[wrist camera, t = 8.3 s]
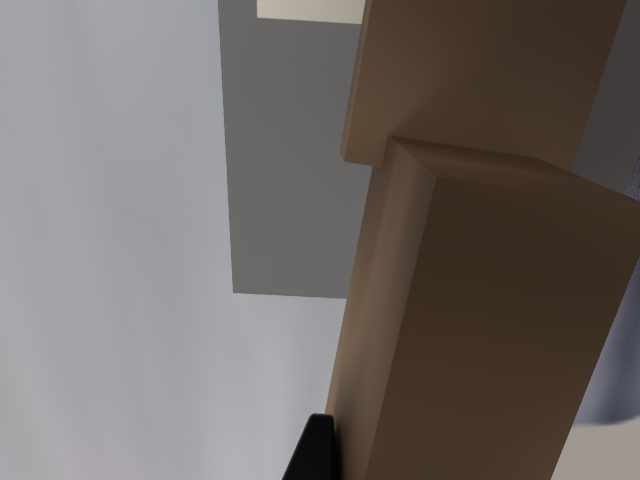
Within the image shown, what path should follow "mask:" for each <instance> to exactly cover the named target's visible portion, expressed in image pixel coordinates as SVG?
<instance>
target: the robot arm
mask: <svg viewBox="0 0 640 480" xmlns="http://www.w3.org/2000/svg"><path fill="white" fill-rule="evenodd" d="M282 480H336V463H335V433H334V417H333V416H332V415H331V414H316V413H314V414H312V415H311V416H310V417H309V419H308V421H307V424H306V426H305V428H304V430H303V433H302V435H301V437H300V440H299V442H298V444H297V446H296V449H295V451H294V453H293V456H292V458H291V460H290V462H289V465H288V467H287V469H286V471H285V474H284V476H283V478H282Z"/></svg>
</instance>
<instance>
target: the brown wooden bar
mask: <svg viewBox="0 0 640 480" xmlns="http://www.w3.org/2000/svg"><path fill="white" fill-rule="evenodd" d="M626 2H627V0H366V1H365V6H364V12H363V18H362V24H361V30H360V36H359V42H358V48H357V53H356V59H355V65H354V71H353V77H352V83H351V89H350V95H349V101H348V106H347V112H346V118H345V124H344V130H343V136H342V142H341V148H340V154H341V156H342V159H343V161H344V162H349V163H356V164H362V165H369V166H373V167H372V172H371V177H370V182H369V188H368V193H367V198H366V203H365V208H364V213H363V219H362V224H361V229H360V234H359V239H358V244H357V250H356V255H355V260H354V265H353V270H352V275H351V281H350V286H349V291H348V296H347V301H346V306H345V312H344V317H343V322H342V327H341V332H340V337H339V342H338V348H337V353H336V358H335V363H334V368H333V373H332V379H331V384H330V389H329V394H328V399H327V404H326V410H325V414H331V415H332V416H333V417H334V433H335V463H336V480H550V479H551V477H552V474H553V472H554V469H555V467H556V464H557V462H558V459H559V457H560V454H561V451H562V449H563V447H564V444H565V442H566V439H567V437H568V434H569V432H570V429H571V427H572V424H573V421H574V419H575V416H576V414H577V411H578V409H579V406H580V404H581V401H582V399H583V396H584V394H585V391H586V389H587V386H588V384H589V381H590V379H591V376H592V374H593V371H594V369H595V366H596V364H597V361H598V359H599V356H600V353H601V351H602V348H603V346H604V343H605V341H606V338H607V336H608V333H609V331H610V328H611V326H612V323H613V321H614V318H615V316H616V313H617V311H618V308H619V306H620V303H621V301H622V298H623V296H624V293H625V290H626V288H627V285H628V283H629V280H630V278H631V275H632V273H633V270H634V268H635V265H636V263H637V260H638V258H639V255H640V202H639V201H637V200H635V199H632V198H630V197H627V196H625V195H623V194H620V193H618V192H616V191H613V190H611V189H609V188H606V187H604V186H602V185H599V184H597V183H595V182H592V181H590V180H588V179H585V178H583V177H580V176H578V175H576V174H573V173H571V170H572V167H573V164H574V161H575V158H576V155H577V151H578V148H579V145H580V142H581V139H582V136H583V133H584V130H585V127H586V124H587V121H588V118H589V115H590V112H591V109H592V106H593V103H594V100H595V97H596V94H597V91H598V88H599V84H600V81H601V78H602V75H603V72H604V69H605V66H606V63H607V60H608V57H609V54H610V51H611V48H612V45H613V42H614V39H615V36H616V33H617V30H618V27H619V24H620V20H621V17H622V14H623V11H624V8H625V5H626Z"/></svg>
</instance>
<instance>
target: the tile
mask: <svg viewBox="0 0 640 480" xmlns="http://www.w3.org/2000/svg"><path fill="white" fill-rule="evenodd" d="M365 1H366V0H257V18H273V19H289V20H304V21H320V22H336V23H351V24H362V18H363V12H364V6H365Z"/></svg>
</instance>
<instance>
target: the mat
mask: <svg viewBox="0 0 640 480" xmlns="http://www.w3.org/2000/svg"><path fill="white" fill-rule="evenodd" d="M218 11H219V30H220V49H221V69H222V88H223V107H224V126H225V145H226V164H227V184H228V203H229V222H230V241H231V260H232V280H233V293H247V294H266V295H285V296H304V297H324V298H343V299H347V296H348V291H349V286H350V281H351V275H352V270H353V265H354V260H355V255H356V250H357V244H358V239H359V234H360V229H361V224H362V219H363V213H364V208H365V203H366V198H367V193H368V188H369V182H370V177H371V172H372V167H373V166H369V165H362V164H356V163H349V162H344V161H343V159H342V156H341V154H340V148H341V142H342V136H343V130H344V124H345V118H346V112H347V106H348V101H349V95H350V89H351V83H352V77H353V71H354V65H355V59H356V53H357V48H358V42H359V36H360V30H361V24H351V23H336V22H320V21H304V20H289V19H273V18H257V0H218ZM639 158H640V0H627V2H626V5H625V8H624V11H623V14H622V17H621V20H620V24H619V27H618V30H617V33H616V36H615V39H614V42H613V45H612V48H611V51H610V54H609V57H608V60H607V63H606V66H605V69H604V72H603V75H602V78H601V81H600V84H599V88H598V91H597V94H596V97H595V100H594V103H593V106H592V109H591V112H590V115H589V118H588V121H587V124H586V127H585V130H584V133H583V136H582V139H581V142H580V145H579V148H578V151H577V155H576V158H575V161H574V164H573V167H572V170H571V173H573V174H576V175H578V176H580V177H583V178H585V179H588V180H590V181H592V182H595V183H597V184H599V185H602V186H604V187H606V188H609V189H611V190H613V191H616V192H618V193H620V194H624V192H625V189H626V187H627V185H628V183H629V180H630V178H631V176H632V174H633V172H634V169H635V167H636V165H637V163H638V161H639Z"/></svg>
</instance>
